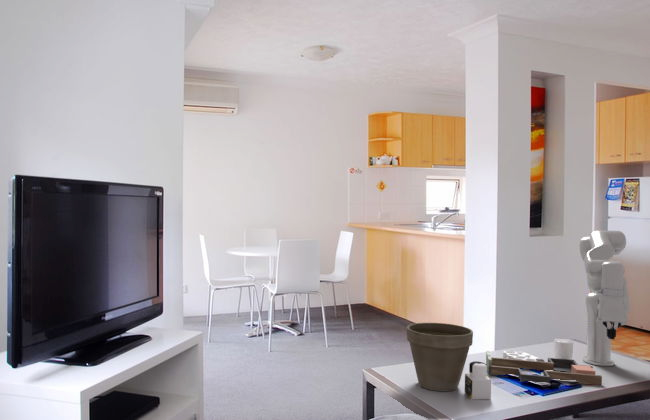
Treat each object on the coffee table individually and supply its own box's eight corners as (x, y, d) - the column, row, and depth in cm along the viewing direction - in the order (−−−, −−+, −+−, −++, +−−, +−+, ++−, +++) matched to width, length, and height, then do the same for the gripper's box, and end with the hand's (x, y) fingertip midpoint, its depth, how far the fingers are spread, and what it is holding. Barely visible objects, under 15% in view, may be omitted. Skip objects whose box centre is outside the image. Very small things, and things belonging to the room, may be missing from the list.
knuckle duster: (550, 367, 223) (523, 370, 218) (521, 356, 240) (495, 358, 235) (550, 359, 223) (523, 362, 218) (521, 349, 240) (495, 351, 235)
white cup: (575, 366, 225) (575, 343, 225) (555, 364, 226) (556, 342, 226) (570, 361, 232) (570, 339, 233) (551, 359, 234) (552, 337, 234)
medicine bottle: (464, 392, 187) (465, 359, 187) (483, 392, 187) (483, 359, 187) (471, 399, 180) (472, 365, 180) (491, 399, 180) (491, 365, 180)
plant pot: (415, 371, 211) (416, 318, 211) (477, 381, 200) (478, 326, 201) (396, 389, 189) (398, 330, 189) (464, 401, 178) (466, 339, 178)
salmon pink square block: (571, 375, 211) (571, 364, 211) (589, 377, 210) (589, 366, 210) (576, 381, 205) (576, 369, 205) (595, 382, 203) (595, 371, 203)
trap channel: (484, 360, 230) (485, 346, 231) (586, 369, 221) (587, 355, 221) (489, 380, 202) (490, 365, 202) (607, 391, 192) (607, 375, 192)
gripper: (594, 292, 203) (593, 339, 203) (636, 295, 200) (635, 342, 199) (589, 290, 211) (588, 335, 210) (629, 292, 207) (628, 338, 207)
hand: (611, 338), depth 205 cm, fingers closed
